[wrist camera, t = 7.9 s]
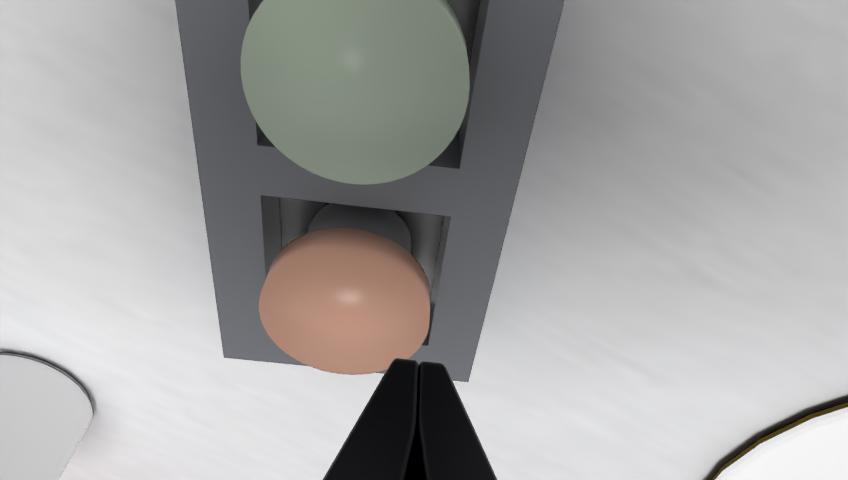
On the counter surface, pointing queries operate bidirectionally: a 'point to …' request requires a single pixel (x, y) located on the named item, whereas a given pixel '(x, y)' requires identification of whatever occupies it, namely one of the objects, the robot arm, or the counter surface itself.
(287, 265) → the terracotta button
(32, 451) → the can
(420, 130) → the sage button
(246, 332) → the panel
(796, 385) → the counter surface
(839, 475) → the plate
